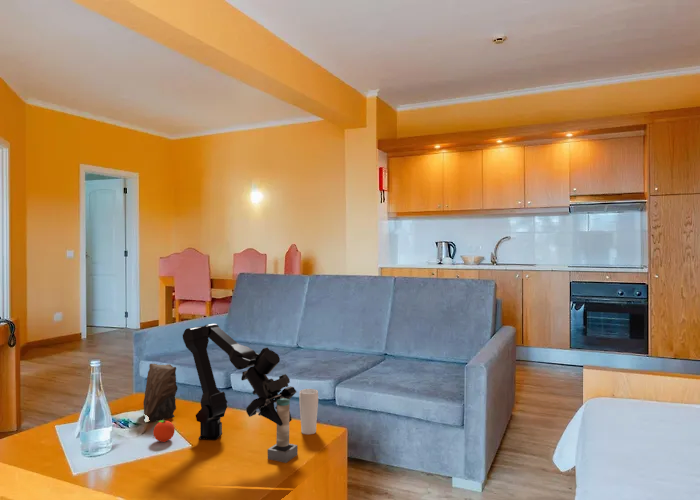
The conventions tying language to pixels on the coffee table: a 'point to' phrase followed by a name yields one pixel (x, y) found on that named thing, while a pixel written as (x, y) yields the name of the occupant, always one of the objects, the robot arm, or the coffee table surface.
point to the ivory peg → (283, 430)
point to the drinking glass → (308, 410)
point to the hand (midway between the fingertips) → (286, 423)
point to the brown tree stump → (160, 392)
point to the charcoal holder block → (282, 453)
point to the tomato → (163, 431)
